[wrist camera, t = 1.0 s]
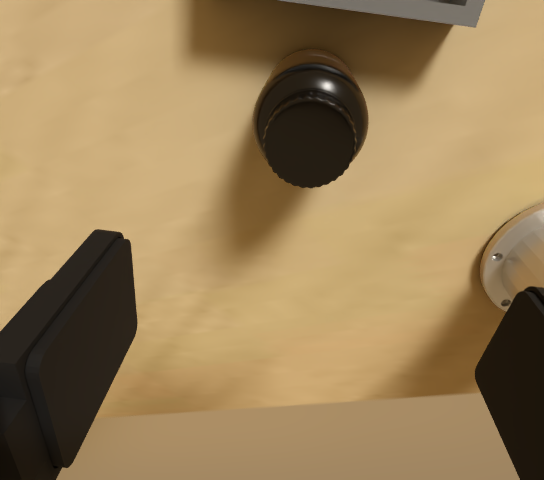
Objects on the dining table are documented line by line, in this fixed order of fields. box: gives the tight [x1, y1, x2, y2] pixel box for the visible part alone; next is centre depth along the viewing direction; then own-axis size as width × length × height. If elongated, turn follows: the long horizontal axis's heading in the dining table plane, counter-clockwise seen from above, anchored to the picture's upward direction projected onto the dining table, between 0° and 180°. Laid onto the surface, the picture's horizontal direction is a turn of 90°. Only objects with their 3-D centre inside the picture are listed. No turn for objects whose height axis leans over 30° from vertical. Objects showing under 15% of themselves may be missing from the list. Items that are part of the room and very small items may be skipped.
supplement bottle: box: [253, 49, 368, 188], centre depth 25 cm, size 7×7×12 cm
